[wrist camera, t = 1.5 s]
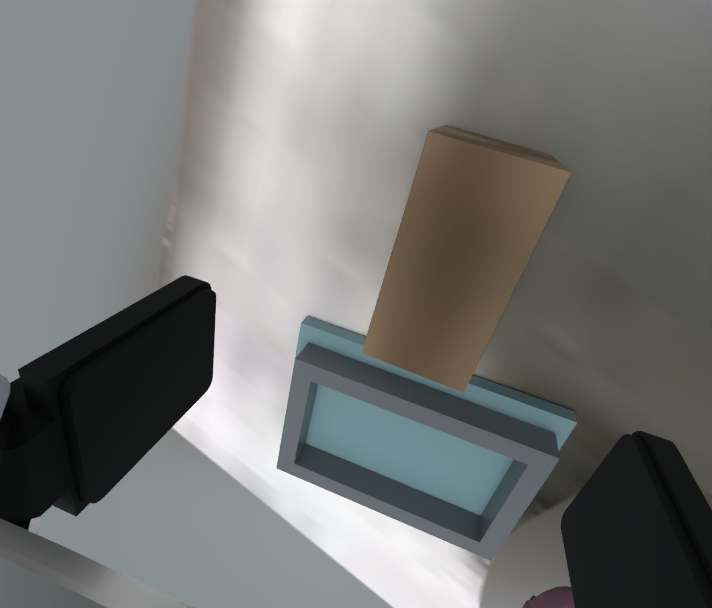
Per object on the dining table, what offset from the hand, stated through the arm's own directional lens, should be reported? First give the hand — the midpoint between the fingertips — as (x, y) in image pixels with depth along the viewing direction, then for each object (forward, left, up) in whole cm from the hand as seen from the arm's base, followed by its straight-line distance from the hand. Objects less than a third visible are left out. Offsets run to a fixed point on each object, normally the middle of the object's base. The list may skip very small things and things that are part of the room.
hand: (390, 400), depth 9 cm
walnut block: (-1, 0, -14) cm, 14 cm away
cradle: (-2, +14, -14) cm, 20 cm away
